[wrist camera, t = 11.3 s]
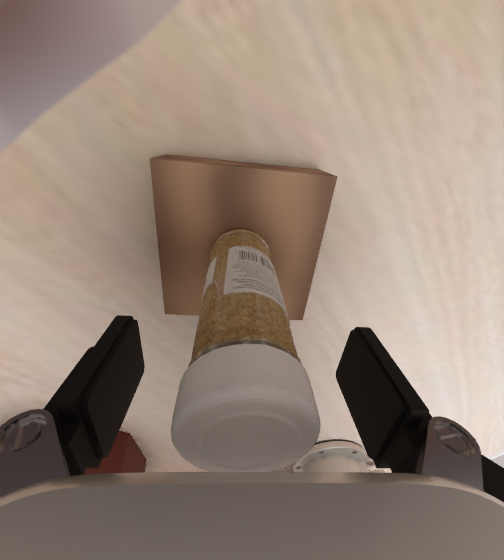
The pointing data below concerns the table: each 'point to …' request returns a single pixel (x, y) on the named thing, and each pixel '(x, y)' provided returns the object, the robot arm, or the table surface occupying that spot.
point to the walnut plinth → (237, 222)
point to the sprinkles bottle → (244, 370)
